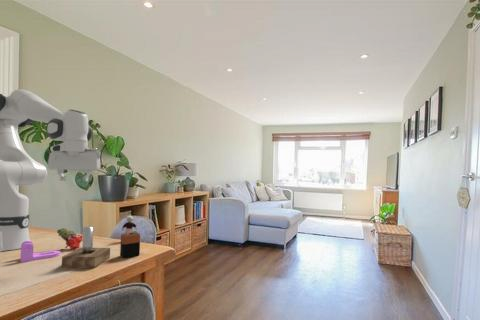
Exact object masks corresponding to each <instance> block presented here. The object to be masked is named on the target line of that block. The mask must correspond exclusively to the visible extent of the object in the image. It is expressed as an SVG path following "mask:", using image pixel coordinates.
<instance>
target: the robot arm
mask: <svg viewBox="0 0 480 320" xmlns="http://www.w3.org/2000/svg"><path fill="white" fill-rule="evenodd" d="M34 121H35V122H40V123H47V124H46V128H45V129H46V134H47V136H48V137H49V138H50V139H51V140H54V141H59V142H62V143H58V144H55V145H51V146H50V153H49V155H48V162H47V167H48V169H49V170H56V172H57V174H58V176H59V181H66V179H67V176H65V175H64V172H65V170H67V171H70V170H71V171H74V170H76V171H85V173H86V174H85V176H82V182H89V177H90V176H91V175H92V171H99V170H100V169H101V166H102V165H101V151H100V150H99V149H98V148H89V147H88V146H89V145H88V144H89V142H90V140H92V137H93V134H94V133H93V129H92V127H91V126H90V124H89V118H88V114H87V113H86V112H85V111H84V112H83V111H79V110H76V109H67V110H66V111H65V113H64V112H62V111H61V110H59V109H58V108H56V107H55V106H53V105H51V104H50V103H49V102H47V101H46V100H45V99H43V98H41V97H40V96H39V95H37V94H35V92H32V91H30V90H28V89H24V88H19V89H15V90H14V91H12V92H11V93H10V94H9V96H8V95H7V96H5V95H3V94H2V93H0V253H2V252H6V251H15V250H19V249H21V244H22V243H23V242H25V241H31V238H30V233H29V226H30V225H29V224H30V214H29V209H30V208H29V206H30V198H29V197H28V196H27V195H25V194H23V193H21V192H19V191H18V190H17V186H29V185H30V186H32V185H38V184H41V183H44V181H45V180H46V179H47V177H48V170H47V167H46V165H44V164H42V163H40V162H38V161H36V160H35V159H33V157H31V156H30V154H29V153H27V152H26V150H25V147H24V146H23V143H22V141H21V138H20V135H19V132H18V128H24V127H26V125H27V126H28V125H29V124H31V123H32V122H34Z"/></svg>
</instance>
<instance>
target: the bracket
mask: <svg viewBox="0 0 480 320" xmlns="http://www.w3.org/2000/svg"><path fill="white" fill-rule="evenodd" d="M60 255H61V250H49V251H43V252H35V253H34V245H33V242H32V241H31V240H30V241H25V242H23V243H22V244H21V248H20V257H19V258H20V260H19V261H20V263H25V262H32V261H39V260H44V259H46V260H47V259H52V258H56V257H59V256H60Z"/></svg>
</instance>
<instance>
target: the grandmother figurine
mask: <svg viewBox="0 0 480 320" xmlns="http://www.w3.org/2000/svg"><path fill="white" fill-rule="evenodd" d="M133 221H134V217H133V216H132V215H127V216H126V222H125V223H124V224H122V225H123V226H122V227H121V231H124V230H125V231H124V233H125V232H128V233H132V231H134V230H135V231H138V225H136V223H134V222H133ZM133 228H134V230H133Z"/></svg>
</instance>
